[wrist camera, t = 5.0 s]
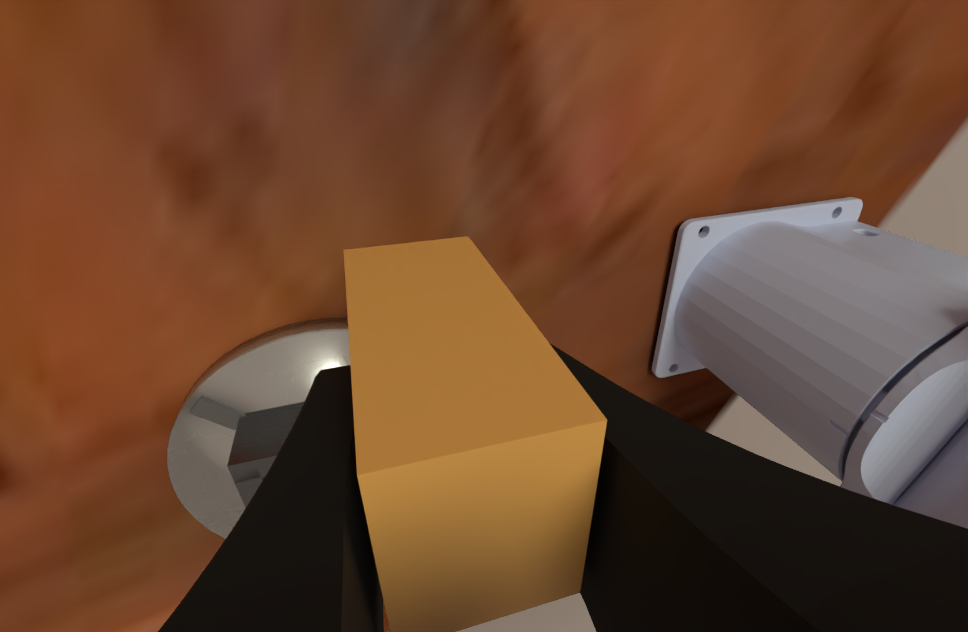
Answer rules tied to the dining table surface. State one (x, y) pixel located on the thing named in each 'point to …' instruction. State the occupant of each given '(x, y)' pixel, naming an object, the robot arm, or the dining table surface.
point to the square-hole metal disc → (247, 416)
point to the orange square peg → (464, 439)
